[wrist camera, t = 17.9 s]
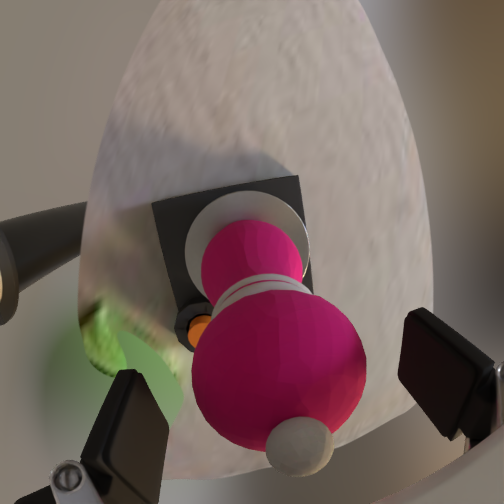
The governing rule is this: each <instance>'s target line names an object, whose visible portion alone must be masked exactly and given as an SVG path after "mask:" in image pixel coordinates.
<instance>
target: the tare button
mask: <svg viewBox="0 0 504 504" xmlns="http://www.w3.org/2000/svg"><path fill="white" fill-rule="evenodd" d="M210 322H211V316H209V315H200V316H197V317H196V318H194V319H193V320H192V322H191V323H190V327H189V331H188V340H189V342H190V344H191V345H192V346H193V347H194V348H196V346H197V343H198V341H199V338H200V336H201V335H202V333H203V331H204V330H205V328H206V327H207V325H208V324H209V323H210Z"/></svg>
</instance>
